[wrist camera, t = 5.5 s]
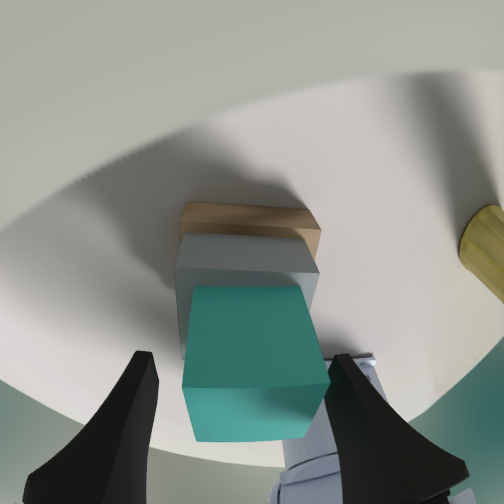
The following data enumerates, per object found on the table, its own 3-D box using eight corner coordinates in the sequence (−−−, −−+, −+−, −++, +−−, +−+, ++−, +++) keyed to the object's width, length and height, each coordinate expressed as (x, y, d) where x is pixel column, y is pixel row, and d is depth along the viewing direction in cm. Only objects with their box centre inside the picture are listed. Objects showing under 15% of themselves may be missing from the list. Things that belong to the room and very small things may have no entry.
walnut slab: (307, 207, 17) (321, 230, 15) (288, 299, 21) (296, 329, 18) (187, 199, 16) (179, 221, 14) (189, 295, 20) (184, 325, 17)
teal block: (300, 286, 12) (330, 382, 8) (287, 353, 15) (303, 437, 10) (194, 286, 12) (181, 387, 8) (200, 354, 14) (196, 441, 10)
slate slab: (304, 239, 15) (319, 273, 12) (285, 324, 18) (293, 362, 15) (184, 232, 14) (174, 266, 12) (187, 320, 17) (182, 359, 15)
